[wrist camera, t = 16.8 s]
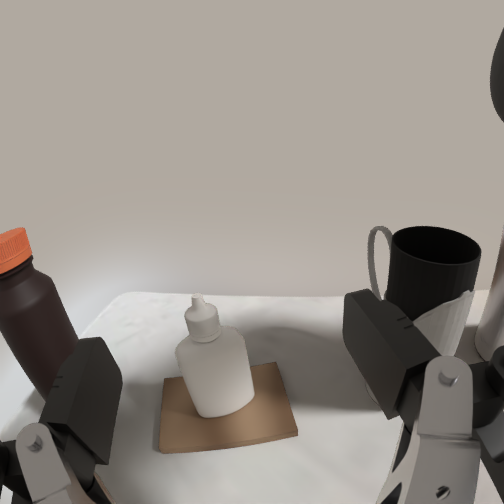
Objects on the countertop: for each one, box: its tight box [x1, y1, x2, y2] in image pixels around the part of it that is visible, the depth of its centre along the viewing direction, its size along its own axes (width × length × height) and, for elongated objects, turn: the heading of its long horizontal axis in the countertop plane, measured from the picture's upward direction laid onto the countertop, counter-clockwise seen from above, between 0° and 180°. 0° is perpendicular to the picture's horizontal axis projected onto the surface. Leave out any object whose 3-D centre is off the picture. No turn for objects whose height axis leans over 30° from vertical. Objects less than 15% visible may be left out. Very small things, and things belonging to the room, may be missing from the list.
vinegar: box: [0, 228, 79, 401], centre depth 21 cm, size 7×7×20 cm
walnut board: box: [159, 362, 298, 453], centre depth 25 cm, size 12×9×1 cm
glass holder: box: [365, 226, 481, 406], centre depth 24 cm, size 9×14×15 cm, turn 12°
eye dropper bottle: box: [175, 293, 254, 418], centre depth 23 cm, size 4×6×12 cm
